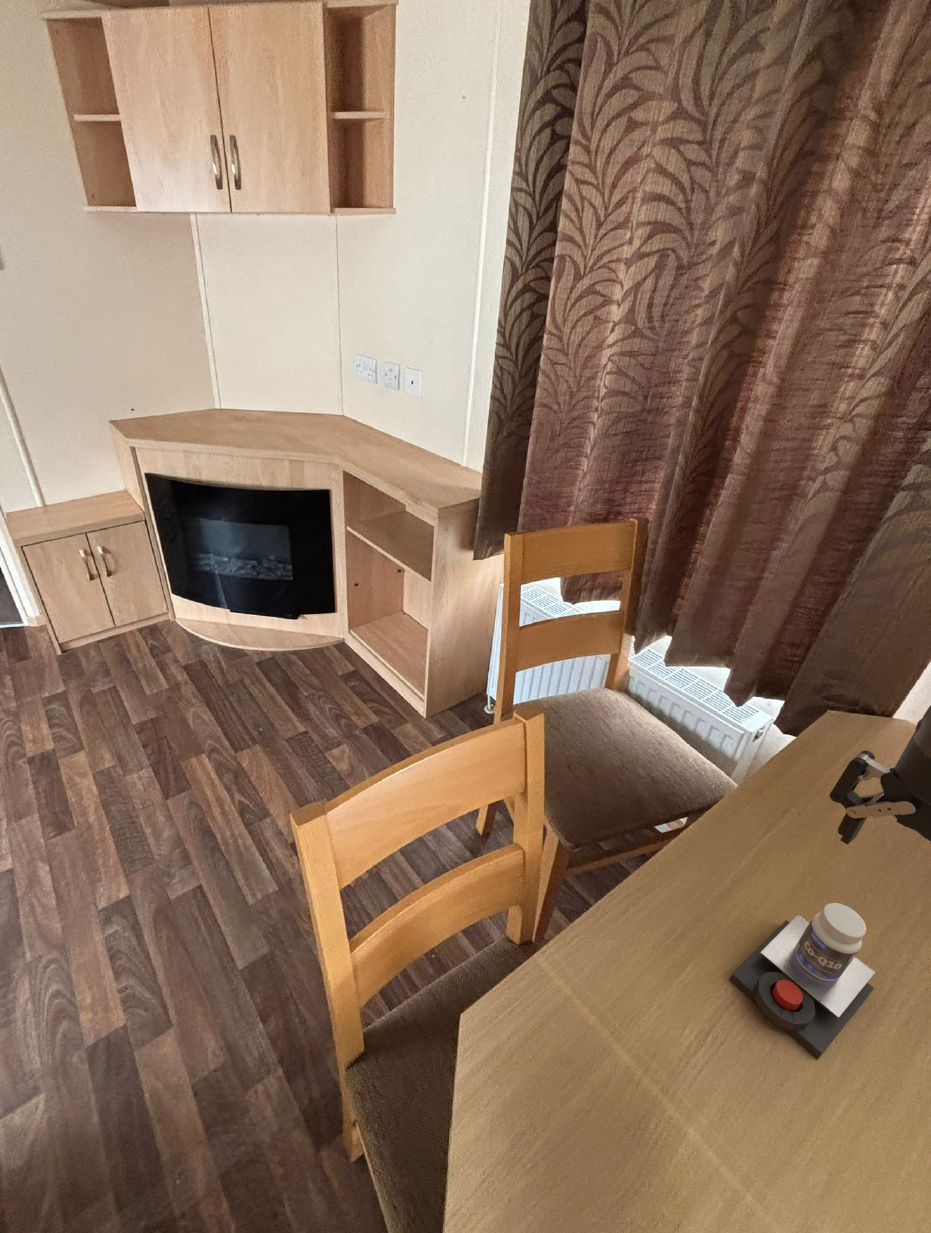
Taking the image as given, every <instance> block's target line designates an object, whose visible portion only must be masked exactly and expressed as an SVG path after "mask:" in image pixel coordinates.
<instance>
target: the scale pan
mask: <svg viewBox="0 0 931 1233" xmlns="http://www.w3.org/2000/svg"><path fill="white" fill-rule="evenodd" d="M789 922H790V923H789V924H788V925H787V926H786V927H785V928H784V929H783V930H782V931H781V932H780V933H779V934H778V935H777V936H776V937H775V938H774V939H773V940H772V941H771V942H770V943H769V944H768V945H767V946H766V947H765V948H764V949H763V950H762V951H761V952H760V955H761V956H763V957H764V958H765V959H766V960H767V961H768V962H770V963H771V964H772V965H773V966H774V967H776V968H777V969H778V970H779V971H780V972H782V973H783V974H784V975H785V976H786V977H788V978H789V979H790V980H791V981H792V982H794V983H795V984H796V985H797V986H798V987H799V988H801V989H802V990H803V991H804V992H805V993H807V994H808V995H809V996H810V997H811V998H813V999H814V1000H815V1001H816V1002H817V1003H819V1004H820V1005H821V1006H822V1007H823V1008H825V1009H826V1010H827V1011H828V1012H829V1013H830V1014H832V1015H833V1016H834V1017H835V1018H836V1019H838V1018H839V1017H840V1016H841V1015H842V1013H843V1012H844V1011H845V1010H846V1008H847V1007H848V1006H849V1005H850V1003H851V1002H852V1001H853V1000H854V999H855V997H856V996H857V995H858V994H859V992H860V991H861V990H862V989H863V987H864V986H865V985H866V984H867V983H869V981H871V979H872V978H873V977H874V975H875V974H876V971H875V970H873V969H872V968H871V967H869V966H868V965H866V963H864V962H863V961H861V960H860V959H858V958H857V957H856V956H855V957H854V959H853V960H852V961H851V963H850V964H849V965H848V967H847V968H846V970H845V971H844V972H843V974H842V975H841V977H840V978H838V979H837V980H834V981H825V980H821V979H819V978H817V977H815V976H813V975H812V974H810V973H809V972H807V971H806V970H805V969H804V968H803V967H802V966H801V964H800V963H799V961H798V960H797V958H796V954H795V947H796V945H797V943H798V941H799V940H800V938H801V936H802V935H803V933H804V931H805V930H806V928H807V926H808V925H809V923H810V921H808V920H807V919H806V918H805V917H803V916H802V915H801V914H799V913H798V914H797V915H796V916H794V917H793V919H792V920H791V921H789Z"/></svg>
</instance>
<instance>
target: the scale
mask: <svg viewBox="0 0 931 1233" xmlns="http://www.w3.org/2000/svg"><path fill="white" fill-rule="evenodd" d="M790 922H791V921H788V920H785V921H784V922H783V923H781V924H780V925H779V926H778V928H777V929H775V930H774V931H773V932H772V933H771V935H769V937H768V938H767V939H766V940H764V941H763V942H762V944H761V945H759V946H758V947H757V948H756V949H755V951H753V953H752V954H751V955H749V956H748V958H746V960H744V961H743V962H742V964H740V966H738V967H737V968H736V970H734V972H732V974H731V975H730V977H729V982H730V983H731V984H732V985H734V986H735V987H736V988H737V989H738V990H739V991H740V992H741V993H742V994H744V995H745V996H746V997H747V998H748V999H749V1000H750V1001H751V1002H752V1003H754V1005H755V1006H757V1007H758V1008H759V1009H760V1010H761V1013H762V1014H764V1015H765V1016H766V1017H767V1019H769V1020H770V1021H771V1022H772V1023H773V1024H775V1025H776V1026H778V1027H780V1028H781V1029H782V1030H783V1031H785V1033H787V1034H788V1035H789V1036H790V1037H791V1038H792V1039H793V1040H794V1041H796V1042H797V1043H798V1044H799V1045H800V1046H801V1047H803V1049H805V1050H806V1051H807V1052H808V1054H810V1055H811V1056H812V1057H813V1058H815V1059H816V1060H819V1059H820V1058H821V1056H822V1055H823V1054H824V1053H825V1052H826V1050H827V1049H828V1048H829V1047H830V1045H831V1044H832V1042H833V1041H834V1040H835V1039H836V1038H837V1037H838V1035H839V1034H840V1032H841V1031H842V1030H843V1028H845V1026H846V1025H847V1024H848V1022H849V1021H850V1020H851V1019H852V1018H853V1016H855V1014H856V1012H857V1011H858V1010H859V1008H860V1007H862V1005H863V1004H864V1002H865V1001H866V1000H867V999H868V997H869V996H870V995H871V993H872V992H873V991H874V989H875V987H873V985H871V984H870V983H869V982H867V984H866V985H865V986H864V987H863V989H862V990H861V991H860V992H859V994H858V995H857V996H856V997H855V999H854V1000H853V1001H852V1002H851V1003H850V1005H849V1006H848V1007H847V1008H846V1010H845V1011H844V1012H843V1013H842V1015H841V1016H840V1017H839V1018H838V1019H836V1018H835V1017H834V1016H833V1015H832V1014H830V1013H829V1012H828V1011H827V1010H826V1009H825V1008H823V1007H822V1006H821V1005H820V1004H819V1003H817V1002H816V1001H815V1000H814V999H813V998H811V997H810V996H809V995H808V994H807V993H805V992H804V991H803V990H802V989H801V988H799V987H798V986H797V985H796V984H795V983H794V982H792V981H791V980H790V979H789V978H788V977H786V976H785V975H784V974H783V973H782V972H780V971H779V970H778V969H777V968H776V967H774V966H773V965H772V964H771V963H770V962H768V961H767V960H766V959H765V958H764V957H763V956H761V955H760V952H761V951H762V950H763V949H764V948H765V947H766V946H767V945H768V944H769V943H770V942H771V941H772V940H773V939H774V938H775V937H776V936H777V935H778V934H779V933H780V932H781V931H782V930H783V929H784V928H785V927H786V926H787V925H788V924H789V923H790ZM779 980H788V981H790V982H792V983H794V984H795V985H796V986H797V987H798V988H799V989H800V990H801V992H802V995H803V1001H802V1002H801V1004H800V1005H799V1007H798V1008H797V1009H796V1010H793V1011H791V1010H786V1009H784V1008H782V1007H781V1006H780V1005H779V1004H778V1003H777V1002H776V1001H775V999H774V997H773V994H772V991H773V988H774V987H775V985H776V983H777V982H778V981H779Z"/></svg>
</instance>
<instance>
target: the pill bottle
mask: <svg viewBox="0 0 931 1233" xmlns="http://www.w3.org/2000/svg"><path fill="white" fill-rule="evenodd" d="M809 922H810V923H809V925H808V926H807V928H806V930H805V931H804V933H803V935H802V936H801V938H800V940H799V941H798V943H797V945H796V947H795V954H796V958H797V960H798V961H799V963H800V964H801V966H802V967H803V968H804V969H805V970H806V971H807V972H809V973H810V974H812V975H813V976H815V977H817V978H819V979H821V980H825V981H834V980H837V979H838V978H840V977H841V975H842V974H843V972H844V971H845V970H846V968H847V967H848V965H849V964H850V963H851V961H852V960H853V959H854V957H856V956H857V955H858V953H859V952H860V950H861V949H862V946H863V938H864V937H865V935H866V933H867V925H866V923H865V921H864V919H863V918H862V917H861V916H860V914H859V913H857V912H856V911H855V910H854V909H852V908H851V907H849V906H847V905H845V904H842V903H839V902H829V903H827V904H826V905H824V907H823V908H822V909H821V911H819V912H817V913H815V914H814V915H813V916H812V917H811V920H810V921H809Z"/></svg>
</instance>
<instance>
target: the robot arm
mask: <svg viewBox="0 0 931 1233" xmlns="http://www.w3.org/2000/svg"><path fill="white" fill-rule="evenodd" d="M873 778H877V779H879V783H880V786H881V789H882V790H881V791H879V792H877V793H874V794H869V795H864V796H860V795H859V794H858V793H857V792H856V791H855V790H856V788H857V787H858V786H859V783H860V782H861V781H870V780H871V779H873ZM829 798H830V800H831V801H832V802H834V803H836V804H840V805H841V806H843V808H844V809H845V815H844V816H843V818H842V820H841V821H840V824H839V825H838V827H837V834H839V835H840V836H841V838H840V841H841V842H842V843H844V844H845V845H847V846H849V844H850V843H852V842H853V841H854V840H855V838H857V836H858V835H859V833H860V831H861V829H862V827H863V826H864V824H865V822H866V820H867V819H868V818H869V817H872V818H874V819H875V818H882V817H883V818H884V817H891V816H893V817H894V818H895V819H896V823H898V824H900V825H901V826H903V827H905V828H907V829H910V830H913V831H915V832H917V833H918V834H919V835H921V836H922V837H923V838H924V839H926V840H928V841H929V842H931V704H930V705H929V706H928V708H927V709H926V711H925V713H924V714H923V716H922V718H920V719H919V720H918V722H917V723H916V725H915V730H914V732H913V734H912V736H910V739H909V741H908V743H907V744H906V746H905V748H904V750H903V752H902V754H901V755H900V757H899V759H898V760H897V762H896V764H895V766H894V767H892V768H888V767H886V766H885V765H883V764H881V763H880V762H878V761H876V760H875V754H874V753H873V752H871V751H870V750H861V751H860V753H858V754H857V755H856V756H855V757H854V758H853V759H851V760H850V761H849V763H848V764H847V766H846V767H845V768H844V770H843V772H842V774H841V775H840V777H839V778H838V780H837V782H836V783H835V784H834V786H833V788H832V790H831V791H830V793H829Z"/></svg>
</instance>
